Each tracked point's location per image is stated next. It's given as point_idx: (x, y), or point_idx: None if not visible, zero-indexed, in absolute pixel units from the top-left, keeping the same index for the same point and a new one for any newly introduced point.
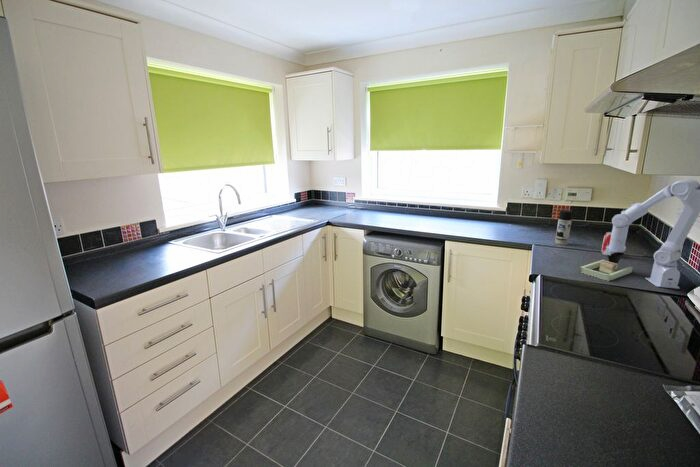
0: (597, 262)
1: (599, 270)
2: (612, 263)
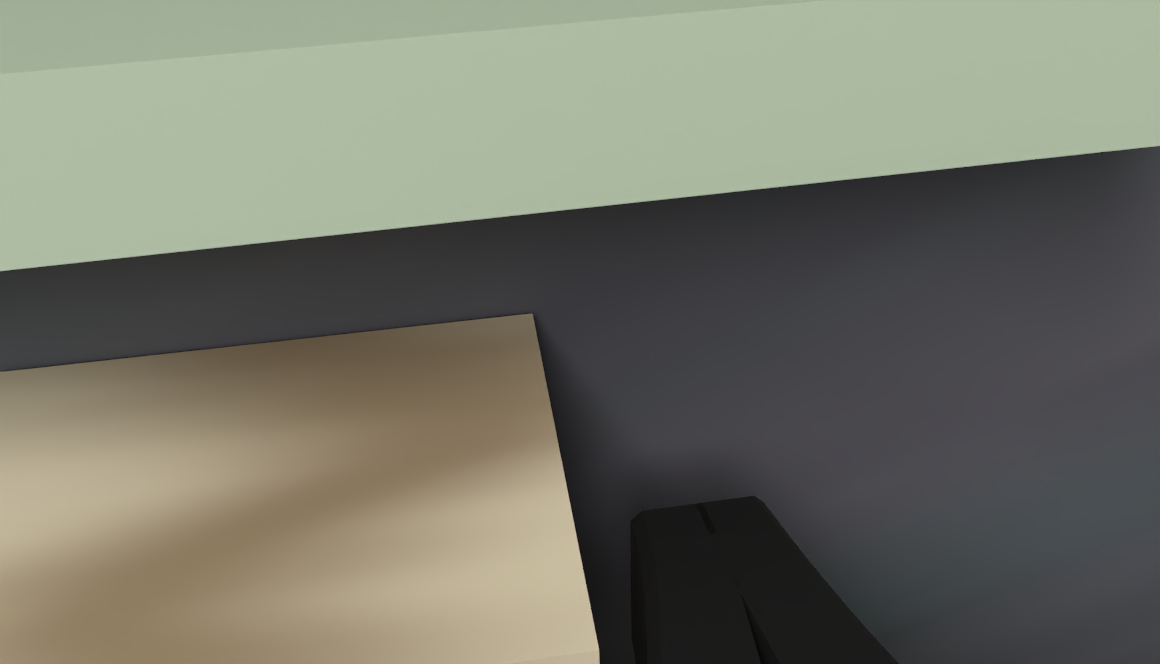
0: (333, 174)
1: (1, 394)
2: None
